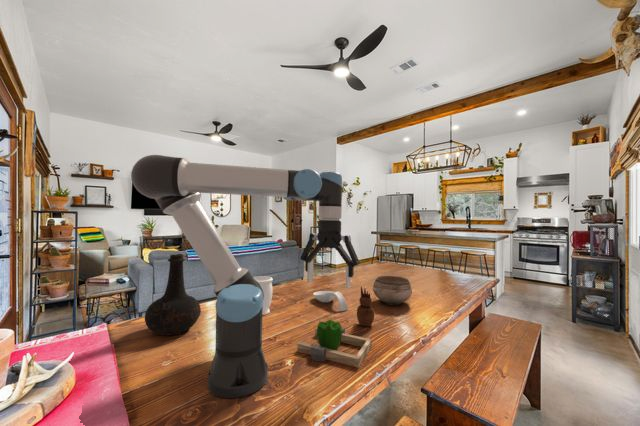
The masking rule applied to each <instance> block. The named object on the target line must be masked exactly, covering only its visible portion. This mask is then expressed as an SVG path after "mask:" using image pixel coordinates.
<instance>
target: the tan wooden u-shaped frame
mask: <svg viewBox="0 0 640 426" xmlns="http://www.w3.org/2000/svg"><path fill="white" fill-rule="evenodd" d="M314 331H315V332H314V333H315V334H314V337H317V327H316V328H315V330H314ZM372 341H373V340H372V339H371V338H366V337H362V336H357V335H354V334H353V335H352V334H349V333H346V328H345V327H342V337H341V341H340V343H342V344H348V345H353V346H355V347H360V350H359V351H358V353H357V354H356V355H355V354H351V353H347V352H343V351H339V350H332V349H328V348H326V347H322V346H320V345H319V344H312V343H308V342H303V341H299V342H297V347H296V348H297V350H296V351H297V353H298V352H299V353H303V354H305V355H308V356H309V355H310V357H311V358H310V359H311V360H314V361H318V362H321V363H324V362H325V361H326V360H328V361H332V362H334V363H335V362H336V363H338V364H344V365H347V366H349V367H354V368H357V369H359V368H360V366H361V365H362V363H363V361H364V360H365V359H366V356H367V355H368V353H369V352H370V351H371V348H372V344H373V343H372Z"/></svg>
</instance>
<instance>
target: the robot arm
mask: <svg viewBox="0 0 640 426" xmlns="http://www.w3.org/2000/svg"><path fill="white" fill-rule="evenodd" d="M130 177H131V182H132V185H133V186H134V188H135V189H136V191H137V192H138V193H140V194H141V195H143V196H145V197H146V198H149V199H154V200H155V202H156V203H157V205H158V206H159V208H160V209H161V211H162V213H163V214H166V215H169V216H172V218H173V219H174V221H175V222H176V225H178V227H179V229H180V231H181V232H182V233H183V235H184V237H185V238H186V240H187V241H188V243H189V244H190V246H191V248H192V249H193V251H194V252H195V254H196V255H197V257H198V258H199V260H200V262H201V263H202V265H203V267H204V268H205V269H206V271H207V273H208V275H209V276H210V277H211V279H212V281H213V282H214V288H213V293H214V294H215V296H216V301H215V350H214V351H215V353H214V356H213V359H212V362H211V366H210V369H209V370H208V372H207V373H208V374H207V378H206V379H207V380H206V382H207V383H206V387H207V390H208V389H209V390H208V391H209V392H210V393H211V394H212V395H213V394H214V396H215V395H216V396H215V397H218V396H219V398H222V397H223V399H237V398H243V397H247V396H249V395H251V394H253V393H256V392H258V391H259V390H260V389H262V388H263V387H264V386H265V385H266V383H267V381H268V378H269V367H268V364H267V361H266V359H265V358H266V357H265V355H264V351H263V347H262V346H263V344H262V343H263V341H262V340H263V315H262V312H263V300H264V293H263V289H262V287H261V285H260V284H259V283H258V282H257V281H256V280H255V279H254V278H253V277H254V276H253V275H252V274H251V272H250V270H249V269H248V268H245V267H241V266H240V264H239V262H238V261H237V259H236V258H235V256H234V255H233V253H232V251H231V250H230V248H229V246H228V245H227V243H226V242H225V240H224V239H223V237H222V235H221V234H220V232H219V231H218V229H217V227H216V225H215V224H214V222H213V221H212V219H211V217H210V215H208V212H207V211H206V209H205V207H204V206H203V205H202V203H201V198H202V194H219V195H234V196H235V195H237V196H254V197H255V196H256V197H276V198H283V199H284V201H285V200H286V201H292V202H294V201H298V202H299V201H300V202H302V201H303V202H305V201H306V202H308V201H309V202H311V201H312V202H318V219H319V220H318V222H317V223H318V229H317V230H318V234H317V233H315V232H311V233H310V234H309V237H308V238H309V239H308V240H307V244H306V245H305V247H304V250H303V251H302V253H301V255H300V260H301V261H304V262H305V273H307V278H306V279H307V280H306V282H307V283H311V282H314V261H313V259H314V258H315V257H316V256H317V255H318V253H319V252H320V251H321V250H322V249H323V248H324V249H335V250H336V251H337V253H338V254H339V256H340V257H341V258H342V260H343V261H344V262H345V263H346V265H347V266H346V267H345V276H344V277H345V281H344V282H345V284H344V286H345V287H344V288H345V289H349V288H350V287H351V280H352V278H353V277H354V273H355V272H354V269H355V267H357V266H359V265H360V260H359V258H358V255H357V254H356V251H355V249H354V246H353V244H352V238H351V235H349V234H348V235H342V221H341V219H342V211H343V209H342V208H343V207H342V203H343V202H342V200H343V199H342V198H343V176H342V173H339V172H337V171H323V172H320V173H318V172H317V171H316V170H314V169H311V168H304V169H301V170H296V169H295V170H294V169H281V168H267V167H266V168H265V167H256V166H253V167H252V166H243V165H241V166H239V165H227V164H213V163H202V162H201V163H200V162H190V160H188V159H187V158H185V157H176V156H168V155H161V154H151V155H146V156H143V157H141V158H140V159H138V160H137V162H135V164H134V165H133V166H132V169H131V173H130ZM316 240H318V243H317V244H316V245H315V247H314V248H313V246H314V244H315V242H316ZM341 241H342V242H343V243H344V245H345V248H346V250H347V251H346V250H345V249H344V248H343V245H342V244H341ZM312 248H313V250H312ZM311 250H312V251H311ZM347 252H348V253H347Z"/></svg>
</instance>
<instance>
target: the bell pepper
mask: <svg viewBox="0 0 640 426" xmlns="http://www.w3.org/2000/svg"><path fill="white" fill-rule="evenodd" d="M316 328H317V336H316V338H317V341H318V346H322V347H326V348H328V349H332V350H335V351H338V348H339V347H340V344H341V342H340V341H341V337H342V328H343V327H342V325H341V323H340V321H337V322H336V321H335V320H334V319H332V318H329V319H328V320H326V321H319V323H318V325H317V327H316Z"/></svg>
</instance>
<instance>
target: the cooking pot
mask: <svg viewBox="0 0 640 426" xmlns="http://www.w3.org/2000/svg"><path fill="white" fill-rule="evenodd" d="M374 279H375V280H374V281H373V285H372V292H373V295H375V296H376V298H377V299H379V300H381V301H382V302H383V303H384V304H386V305H390V306H398V305H400V304H402V303H405V302H407V301H408V300H409V299H410V298H411V297H412V295H413V288H412V284H411V281H412V280H411V279H410V277H406V276H402V275H396V274H379V275H375V276H374Z"/></svg>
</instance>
